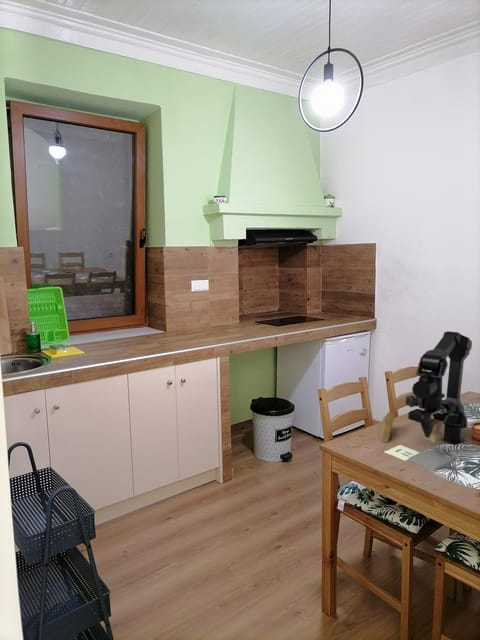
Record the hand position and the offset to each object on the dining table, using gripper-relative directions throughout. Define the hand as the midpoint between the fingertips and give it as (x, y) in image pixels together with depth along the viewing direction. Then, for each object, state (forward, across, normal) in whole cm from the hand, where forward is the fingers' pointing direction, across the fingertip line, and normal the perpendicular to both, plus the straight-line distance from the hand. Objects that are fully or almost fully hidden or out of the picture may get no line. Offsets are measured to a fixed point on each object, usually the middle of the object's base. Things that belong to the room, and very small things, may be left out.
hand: (431, 435), depth 155 cm
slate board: (+9, 0, 0) cm, 9 cm away
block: (+1, 0, 0) cm, 1 cm away
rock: (+10, -4, -23) cm, 25 cm away
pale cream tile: (+9, +2, -10) cm, 14 cm away
